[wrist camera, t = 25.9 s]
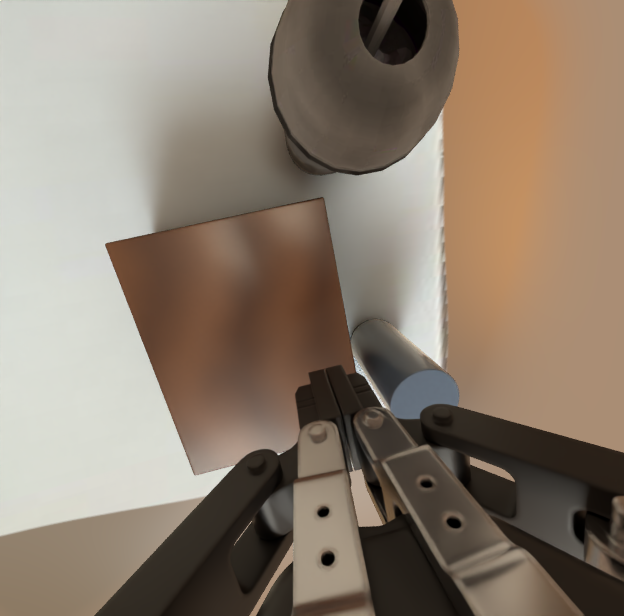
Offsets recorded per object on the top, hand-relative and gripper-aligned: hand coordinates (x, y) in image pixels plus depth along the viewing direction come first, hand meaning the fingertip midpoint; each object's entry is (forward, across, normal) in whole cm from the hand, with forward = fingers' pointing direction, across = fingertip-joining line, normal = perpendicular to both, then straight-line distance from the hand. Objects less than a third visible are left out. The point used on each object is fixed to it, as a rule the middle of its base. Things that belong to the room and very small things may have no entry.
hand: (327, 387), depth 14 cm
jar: (+14, -6, +5) cm, 16 cm away
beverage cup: (+14, -4, -12) cm, 19 cm away
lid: (+7, +4, 0) cm, 8 cm away
